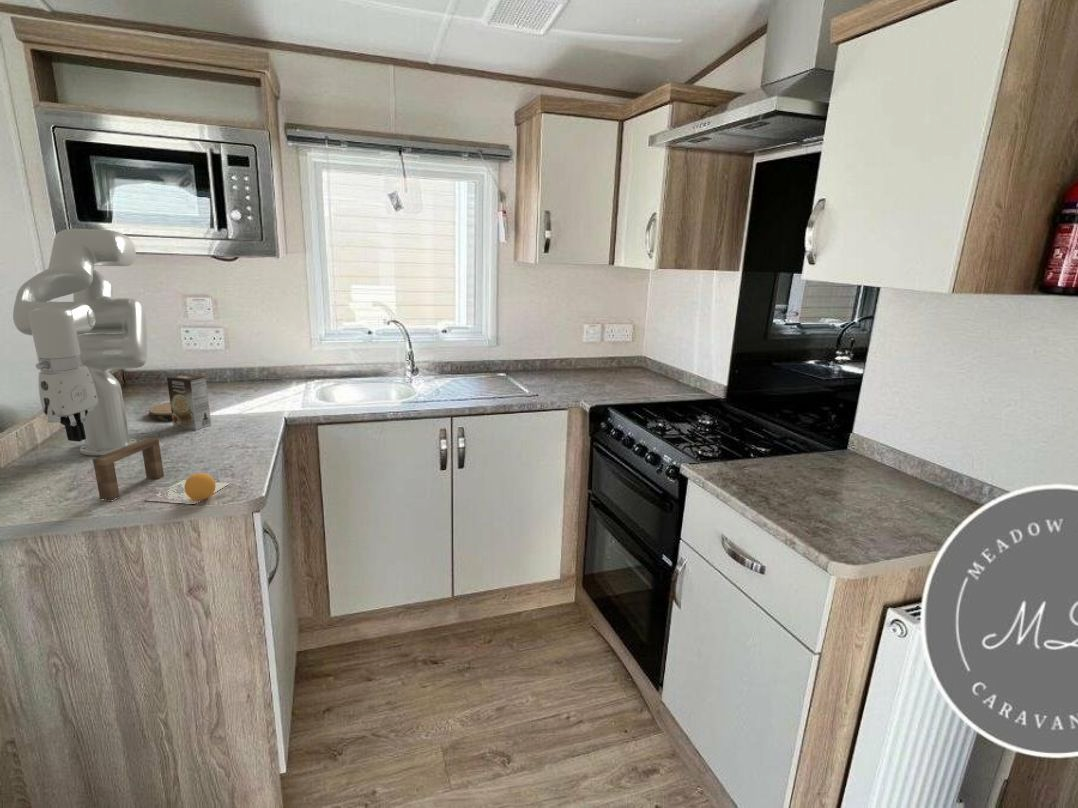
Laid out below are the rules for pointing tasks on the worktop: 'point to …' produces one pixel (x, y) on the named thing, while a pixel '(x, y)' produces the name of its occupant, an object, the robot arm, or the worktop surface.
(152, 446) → the bridge
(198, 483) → the ball
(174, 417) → the coffee box
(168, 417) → the wood slice
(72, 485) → the worktop surface
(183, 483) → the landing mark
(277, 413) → the worktop surface
